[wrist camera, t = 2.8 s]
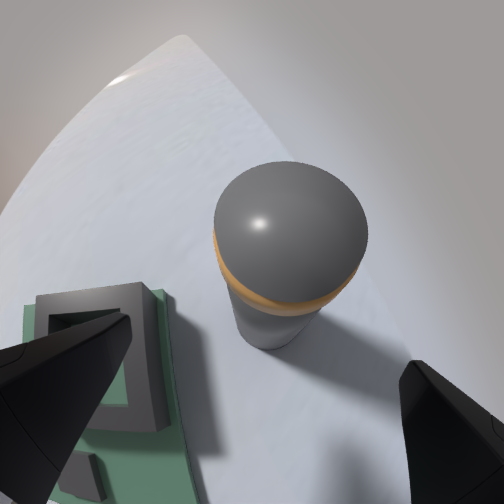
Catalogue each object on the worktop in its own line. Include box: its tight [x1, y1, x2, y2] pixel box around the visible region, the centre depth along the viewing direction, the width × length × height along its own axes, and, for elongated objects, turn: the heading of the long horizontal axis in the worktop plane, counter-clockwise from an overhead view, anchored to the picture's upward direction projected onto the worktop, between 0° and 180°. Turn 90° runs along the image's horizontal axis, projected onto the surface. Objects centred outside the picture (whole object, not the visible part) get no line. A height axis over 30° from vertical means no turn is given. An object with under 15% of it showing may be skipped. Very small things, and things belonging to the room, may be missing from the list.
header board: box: [23, 282, 200, 504], centre depth 13 cm, size 18×14×4 cm
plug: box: [213, 161, 368, 350], centre depth 13 cm, size 5×5×12 cm
